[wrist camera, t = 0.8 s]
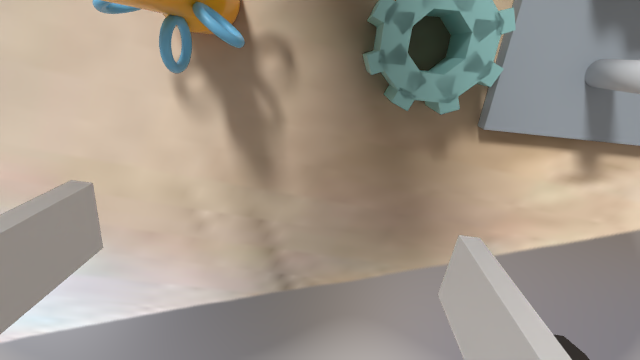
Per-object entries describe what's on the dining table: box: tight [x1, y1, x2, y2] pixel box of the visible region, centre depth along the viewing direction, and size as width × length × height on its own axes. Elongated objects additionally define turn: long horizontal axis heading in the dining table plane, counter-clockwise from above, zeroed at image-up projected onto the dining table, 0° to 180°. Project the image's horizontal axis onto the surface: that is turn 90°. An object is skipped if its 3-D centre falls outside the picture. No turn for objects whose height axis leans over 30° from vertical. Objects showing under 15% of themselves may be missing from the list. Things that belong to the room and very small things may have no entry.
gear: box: [363, 0, 516, 115], centre depth 27 cm, size 11×11×5 cm
